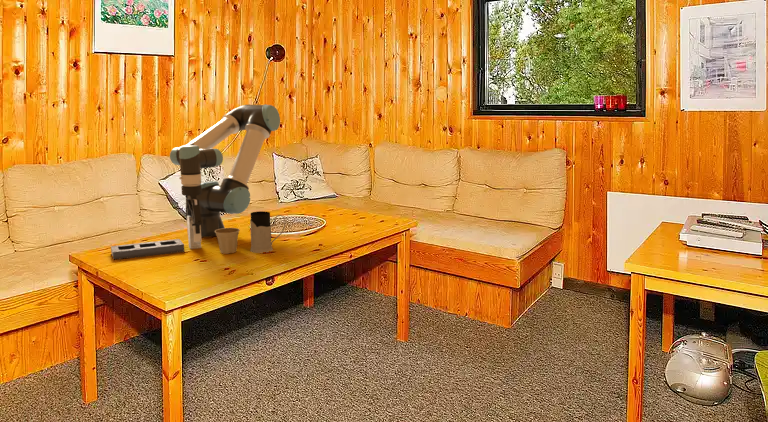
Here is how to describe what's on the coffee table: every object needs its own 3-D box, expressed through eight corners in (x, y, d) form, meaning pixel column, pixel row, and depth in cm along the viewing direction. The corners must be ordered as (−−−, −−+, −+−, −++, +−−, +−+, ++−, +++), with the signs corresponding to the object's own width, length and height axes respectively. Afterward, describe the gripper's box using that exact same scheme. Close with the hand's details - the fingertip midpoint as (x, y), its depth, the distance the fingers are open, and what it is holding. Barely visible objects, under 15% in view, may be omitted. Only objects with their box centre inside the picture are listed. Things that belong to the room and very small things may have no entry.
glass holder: (249, 248, 220) (247, 211, 218) (284, 245, 225) (283, 209, 223) (251, 253, 212) (250, 215, 210) (288, 250, 217) (287, 213, 215)
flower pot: (214, 255, 209) (213, 233, 208) (216, 249, 219) (215, 228, 217) (239, 254, 211) (238, 232, 210) (241, 248, 220) (240, 227, 219)
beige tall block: (199, 245, 224) (197, 214, 221) (201, 247, 220) (199, 216, 218) (188, 246, 222) (186, 215, 219) (190, 249, 218) (188, 217, 216)
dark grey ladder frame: (179, 246, 223) (179, 238, 222) (184, 251, 214) (183, 244, 214) (111, 253, 210) (110, 246, 210) (113, 260, 202) (112, 252, 201)
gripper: (175, 181, 225) (179, 232, 229) (187, 189, 204) (190, 245, 208) (194, 180, 228) (197, 231, 232) (208, 188, 208) (210, 243, 212)
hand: (194, 238), depth 220 cm, fingers open, 12 cm apart
